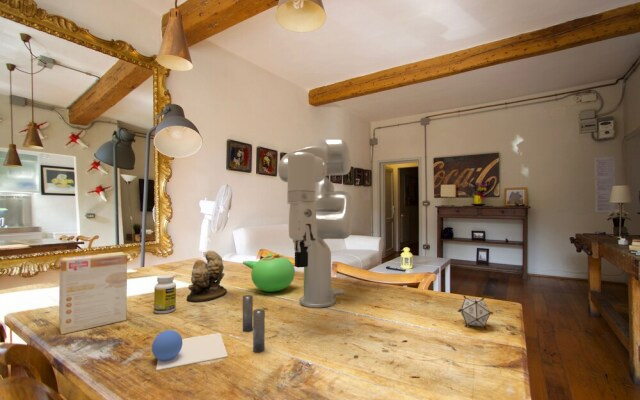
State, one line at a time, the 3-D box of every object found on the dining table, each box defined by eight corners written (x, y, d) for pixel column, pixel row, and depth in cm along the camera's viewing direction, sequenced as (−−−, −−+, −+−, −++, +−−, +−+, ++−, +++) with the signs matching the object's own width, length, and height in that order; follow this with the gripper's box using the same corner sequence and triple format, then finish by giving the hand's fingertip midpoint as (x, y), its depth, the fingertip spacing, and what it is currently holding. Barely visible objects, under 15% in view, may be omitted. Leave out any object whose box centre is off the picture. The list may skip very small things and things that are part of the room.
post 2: (263, 346, 73) (263, 308, 74) (265, 351, 71) (265, 311, 71) (252, 348, 72) (252, 309, 73) (254, 353, 70) (254, 313, 70)
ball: (161, 360, 69) (187, 342, 72) (161, 371, 64) (188, 351, 67) (146, 338, 68) (173, 321, 71) (145, 348, 63) (173, 328, 66)
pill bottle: (166, 315, 95) (167, 278, 96) (149, 313, 97) (149, 278, 97) (179, 308, 101) (180, 274, 102) (163, 307, 103) (163, 273, 103)
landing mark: (220, 333, 81) (220, 332, 81) (227, 356, 68) (227, 355, 68) (160, 343, 75) (160, 342, 75) (156, 370, 63) (156, 369, 63)
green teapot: (273, 299, 112) (273, 258, 112) (240, 292, 121) (240, 254, 121) (302, 288, 127) (302, 252, 127) (271, 283, 136) (271, 249, 136)
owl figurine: (208, 289, 127) (209, 247, 127) (234, 291, 124) (235, 248, 124) (178, 301, 109) (179, 252, 110) (207, 304, 106) (208, 254, 107)
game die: (478, 338, 87) (497, 308, 88) (483, 338, 80) (503, 305, 81) (449, 317, 91) (467, 289, 93) (450, 315, 84) (470, 285, 85)
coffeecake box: (121, 314, 96) (122, 251, 96) (127, 320, 91) (128, 253, 91) (57, 327, 85) (59, 256, 86) (60, 335, 80) (62, 259, 81)
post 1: (251, 327, 85) (251, 294, 86) (253, 330, 83) (253, 296, 83) (241, 328, 84) (242, 295, 84) (243, 332, 82) (243, 298, 82)
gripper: (325, 197, 79) (325, 270, 78) (304, 199, 92) (304, 261, 92) (297, 197, 76) (297, 273, 75) (279, 199, 89) (279, 263, 89)
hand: (301, 266), depth 83 cm, fingers closed
